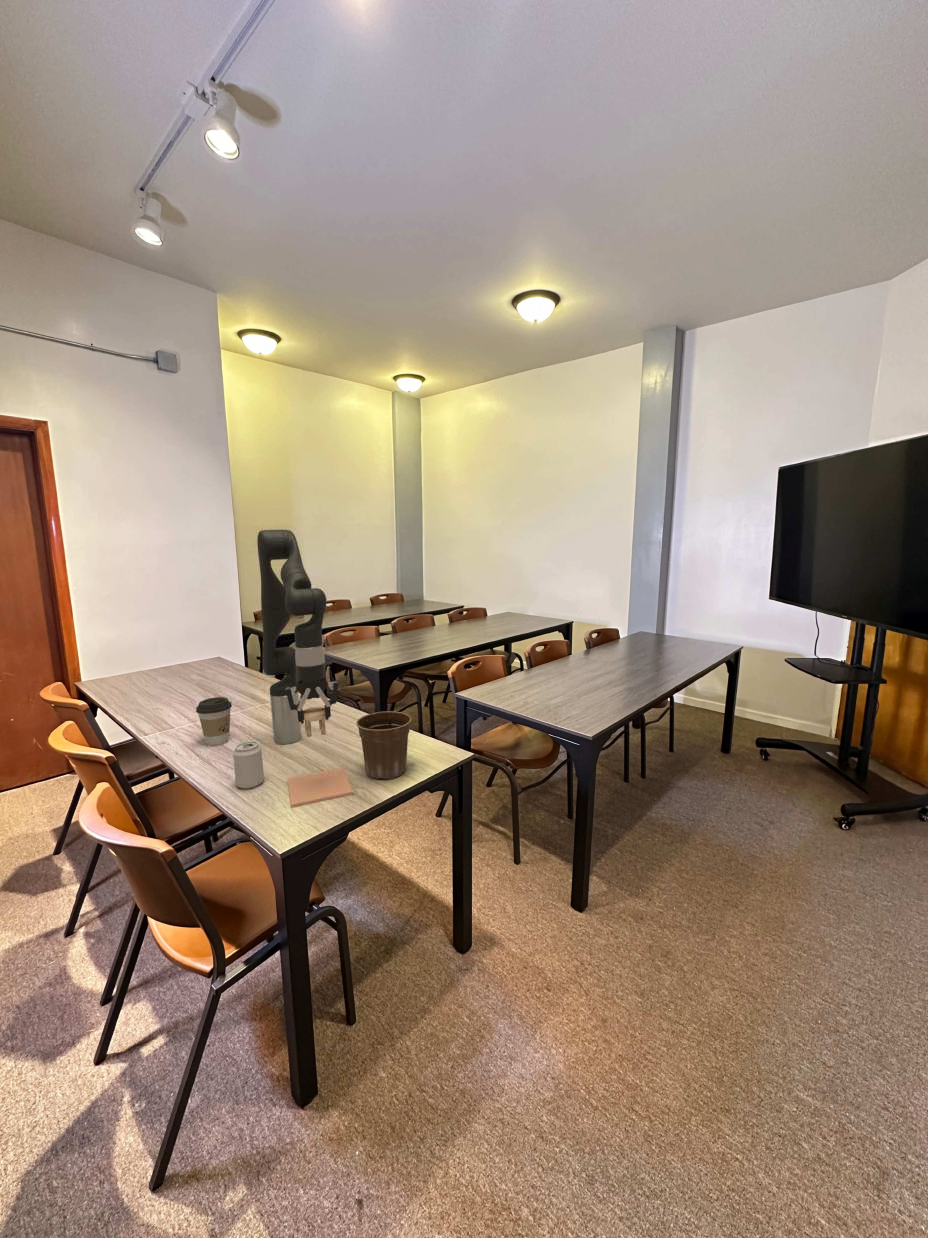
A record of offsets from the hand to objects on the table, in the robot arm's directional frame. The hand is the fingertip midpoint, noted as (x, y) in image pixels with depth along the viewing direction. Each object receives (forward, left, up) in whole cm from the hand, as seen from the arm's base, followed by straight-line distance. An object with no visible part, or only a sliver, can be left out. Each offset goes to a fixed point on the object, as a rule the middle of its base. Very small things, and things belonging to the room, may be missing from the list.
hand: (314, 720), depth 134 cm
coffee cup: (-50, -29, -20) cm, 61 cm away
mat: (0, 0, -20) cm, 20 cm away
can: (-11, -18, -20) cm, 29 cm away
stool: (0, 0, -3) cm, 3 cm away
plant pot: (-2, +20, -20) cm, 28 cm away
